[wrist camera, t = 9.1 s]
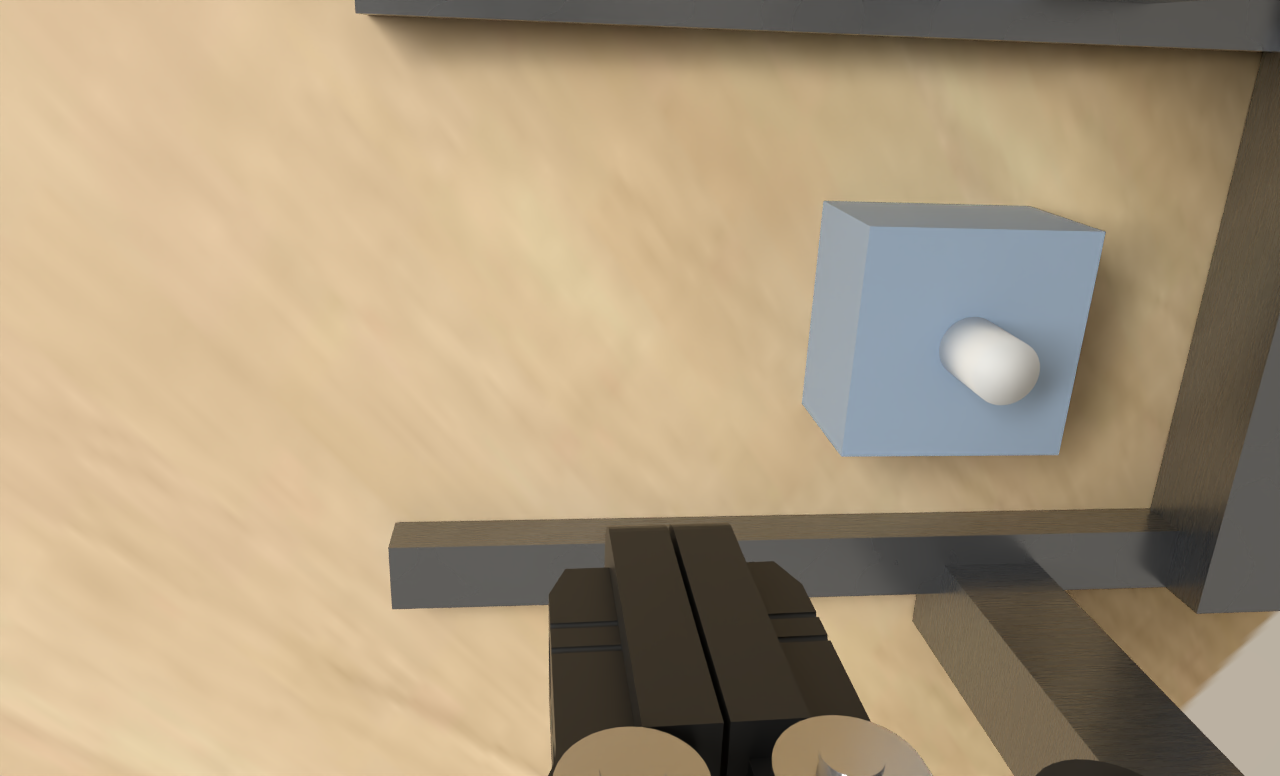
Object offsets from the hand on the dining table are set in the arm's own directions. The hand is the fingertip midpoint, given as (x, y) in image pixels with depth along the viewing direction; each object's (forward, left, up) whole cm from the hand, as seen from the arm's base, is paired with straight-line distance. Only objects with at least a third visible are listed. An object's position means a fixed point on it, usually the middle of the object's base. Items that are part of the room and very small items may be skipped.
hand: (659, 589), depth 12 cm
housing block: (+1, +9, -16) cm, 18 cm away
